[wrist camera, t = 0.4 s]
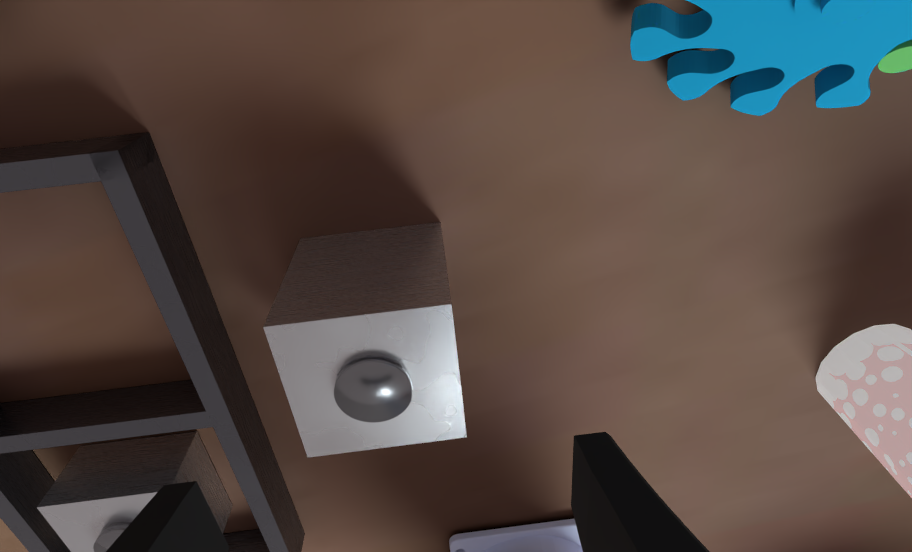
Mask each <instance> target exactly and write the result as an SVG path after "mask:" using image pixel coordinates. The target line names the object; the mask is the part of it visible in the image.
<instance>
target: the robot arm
mask: <svg viewBox="0 0 912 552" xmlns="http://www.w3.org/2000/svg"><path fill="white" fill-rule="evenodd" d="M571 506H572V511H573V515H574V519H567V520H559V521H551V522H544V523H536V524H529V525H521V526H513V527H506V528H498V529H491V530H483V531H475V532H468V533H460V534H455V535H453V536H452V537H451V538H450V539H449V545H450V552H709V551H708V550H707V548H706V547H705V546H704V545H703V544H702V543H701V542H700V541H699V540H698V539H697V538H696V537H695V536H694V535H693V533H692V532H691V531H690V530H689V529H688V528H687V527H686V526H685V525H684V524H683V522H682V521H681V520H680V519H679V518H678V517H677V516H676V515H675V514H674V513H673V511H672V510H671V509H670V508H669V507H668V506H667V505H666V504H665V502H664V501H663V500H662V499H661V498H660V497H659V495H658V494H657V493H656V492H655V491H654V490H653V488H652V487H651V486H650V485H649V484H648V482H647V481H646V480H645V479H644V478H643V476H642V475H641V474H640V473H639V472H638V470H637V469H636V468H635V467H634V465H633V464H632V463H631V462H630V460H629V459H628V458H627V457H626V455H625V454H624V453H623V452H622V450H621V449H620V448H619V446H618V445H617V444H616V442H615V441H614V440H613V438H612V437H611V436H610V435H609V434H607V433H606V432H601V433H592V434H584V435H576V436H574V447H573V472H572V497H571ZM228 551H229V546H228V544H227V542H226V540H225V538H224V536H223V534H222V532H221V530H220V528H219V526H218V524H217V522H216V519H215V517H214V515H213V513H212V511H211V509H210V507H209V505H208V503H207V501H206V499H205V497H204V495H203V493H202V491H201V489H200V487H199V485H198V483H197V481H193V482H184V483H176V484H168V485H164V486H163V487H162V488H161V489H160V490H159V491H158V492H157V493H156V495H155V496H154V497H153V498H152V499H151V500H150V501H149V502H148V504H147V505H146V506H145V507H144V508H143V509H142V511H141V512H140V513H139V514H138V515H137V516H136V517H135V519H134V520H133V521H132V522H131V523H130V524H129V525H128V527H127V528H126V529H125V530H124V531H123V532H122V534H121V535H120V536H119V537H118V538H117V539H116V540H115V542H114V543H113V544H112V545H111V546H110V547H109V548H108V550H107V551H106V552H228Z"/></svg>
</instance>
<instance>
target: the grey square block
mask: <svg viewBox="0 0 912 552" xmlns="http://www.w3.org/2000/svg"><path fill="white" fill-rule="evenodd" d="M263 328H264V331H265V334H266V337H267V340H268V343H269V346H270V349H271V351H272V354H273V357H274V360H275V363H276V366H277V369H278V372H279V375H280V378H281V381H282V384H283V387H284V390H285V392H286V395H287V398H288V401H289V404H290V407H291V410H292V413H293V416H294V419H295V422H296V425H297V428H298V431H299V434H300V436H301V439H302V442H303V445H304V448H305V451H306V454H307V457H316V456H324V455H332V454H340V453H348V452H355V451H363V450H371V449H379V448H387V447H394V446H402V445H410V444H418V443H426V442H434V441H441V440H449V439H457V438H465V437H467V434H466V425H465V417H464V408H463V399H462V391H461V382H460V373H459V365H458V356H457V347H456V339H455V330H454V322H453V313H452V304H451V297H450V289H449V282H448V274H447V267H446V259H445V252H444V244H443V237H442V229H441V222H436V223H428V224H419V225H411V226H402V227H394V228H385V229H377V230H368V231H360V232H351V233H343V234H334V235H326V236H317V237H309V238H300V241H299V243H298V245H297V248H296V250H295V253H294V255H293V257H292V260H291V262H290V264H289V267H288V269H287V272H286V274H285V276H284V279H283V281H282V284H281V286H280V288H279V291H278V293H277V295H276V298H275V300H274V303H273V305H272V307H271V310H270V312H269V314H268V317H267V319H266V322H265V324H264V326H263Z"/></svg>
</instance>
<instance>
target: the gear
mask: <svg viewBox="0 0 912 552" xmlns="http://www.w3.org/2000/svg"><path fill="white" fill-rule="evenodd" d="M686 1H689V2H691V3H693V4H695V5H697V6H699V7H700V8H702V9H703V10H702V11H700V12H698V13H695V14H690V15H682V14H678V13H676V12H674V11H673V10H671V9H669V8H668V7H666V6H664V5H662V4H657V3H649V4H644V5H640V6H638V7H636V8H635V10H634V12H633V15H632V25H631V43H630V46H631V54H632V59H633V60H637V61H649V60H653V59H657V58H659V57H661V56H663V55H666V54H669V53H672V52H675V51H679V50H684V49H692V48H715V49H719V50H715V51H698V50H688V51H683V52H680V53H677V54H675V55H674V56H672V57H671V58H670V59H669V60H668V70H667V84H668V87H669V88H670V90H671V91H672V92H673V93H674V94H675V95H676V96H677V97H679V98H680V99H681V100H691V99H695V98H697V97H700V96H701V95H703V94H704V93H706V92H707V91H708V90H709V89H710V88H712V87H713V86H715V85H716V84H718V83H720V82H722V81H724V80H726V79H728V78H730V77H733V76H735V75H738V74H741V75H739V76H737V77H736V78H735V79H734V80H733V81H732V83H731V85H730V97H731V108H733V109H735V110H737V111H740V112H743V113H747V114H752V115H758V116H761V115H764V114H766V113H768V112H770V111H772V110H773V109H774V108H775V107H776V106H777V104H778V102H779V100H780V98H781V97H782V95H783V94H784V93H785V92H786V91H787V90H788V89H789V88H790V87H792V86H793V85H794V84H796V83H797V82H798V81H800V80H802V79H804V78H805V77H807V76H809V75H811V74H813V73H815V72H816V71H818V70H820V69H822V68H825V67H827V68H825V69H824V70H822V71H821V72H820V73H819V74H818V75H817V76H816V78H815V96H816V106H817V107H820V108H840V107H850V106H858V105H860V104H862V103H864V102H865V101H866V100H867V99H868V98H869V96H870V82H869V76H870V74H871V72H872V70H873V69H874V67H875V66H876V65H877V64H878V68H879V69H880V71H882V72H886V73H898V72H903V71H906V70H910V69H912V0H686ZM828 66H829V67H828ZM742 73H743V74H742Z"/></svg>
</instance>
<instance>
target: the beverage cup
mask: <svg viewBox="0 0 912 552" xmlns="http://www.w3.org/2000/svg"><path fill="white" fill-rule="evenodd" d="M816 384H817V390H818V392H819V393H820V394H821V395H822V396H823V397H824V398H825V400H826V401H827V402H828V403H829V404H830V405H831V406H832V408H833V409H834V410H835V411H836V412H837V413H838V414H839V416H840V417H841V418H842V419H843V420H844V421H845V422H846V424H847V425H848V426H849V427H850V428H851V429H852V430H853V432H854V433H855V434H856V435H857V436H858V437H859V438H860V440H861V441H862V442H863V443H864V444H865V445H866V446H867V448H868V449H869V450H870V451H871V452H872V453H873V454H874V456H875V457H876V458H877V459H878V460H879V461H880V462H881V464H882V465H883V466H884V467H885V468H886V469H887V470H888V472H889V473H890V474H891V475H892V476H893V477H894V478H895V480H896V481H897V482H898V483H899V484H900V485H901V486H902V488H903V489H904V490H905V491H906V492H907V493H908V494H909V496H910V497H911V498H912V330H911V329H909V328H906V327H903V326H900V325H896V324H886V325H875V326H872V327H869V328H867V329H864V330H861V331H859V332H856V333H854V334H852V335H851V336H849V337H848V338H846V339H845V340H843V341H842V342H840V343H839V344H838V345H836V346H835V347H834V348H833V349H832V350H831V351H830V353H829V354H828V355H827V356H826V357H825V358H824V360H823V361H822V362H821V364H820V367H819V370H818V372H817V375H816Z"/></svg>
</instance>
